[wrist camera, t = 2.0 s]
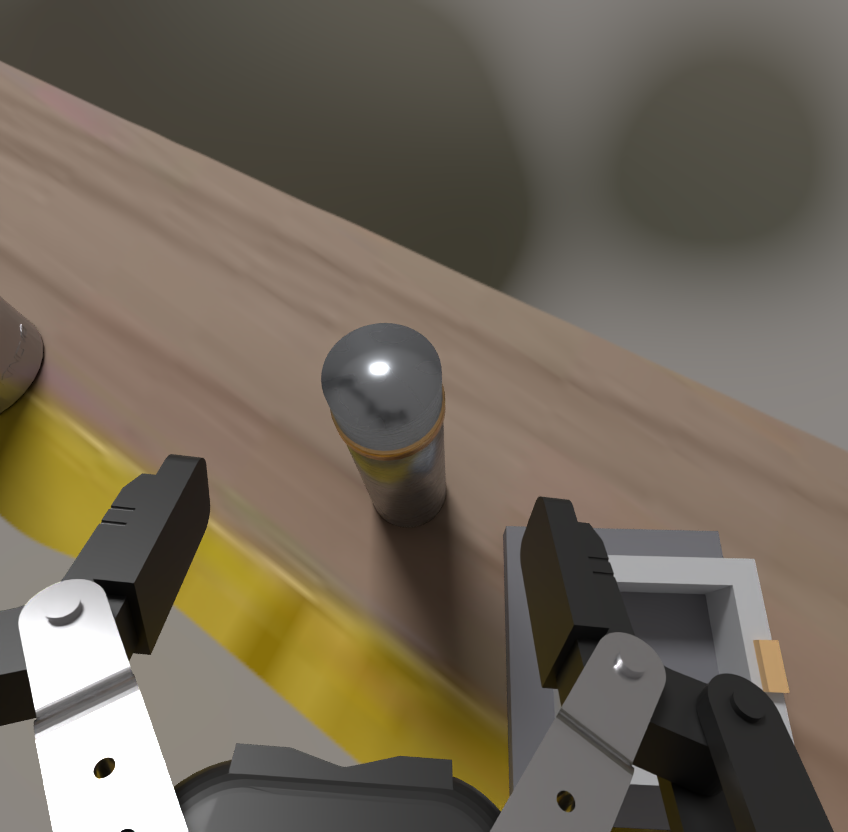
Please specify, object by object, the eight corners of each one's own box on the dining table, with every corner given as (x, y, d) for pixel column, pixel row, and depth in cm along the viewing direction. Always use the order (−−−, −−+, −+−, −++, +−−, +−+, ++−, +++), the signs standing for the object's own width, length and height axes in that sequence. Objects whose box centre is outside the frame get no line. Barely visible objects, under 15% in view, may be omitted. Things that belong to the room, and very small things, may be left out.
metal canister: (366, 528, 32) (311, 430, 19) (373, 453, 34) (325, 320, 21) (446, 530, 32) (443, 432, 19) (448, 455, 34) (445, 321, 21)
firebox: (509, 811, 26) (523, 843, 21) (503, 535, 32) (512, 508, 27) (752, 824, 25) (826, 860, 20) (702, 540, 31) (750, 513, 26)
